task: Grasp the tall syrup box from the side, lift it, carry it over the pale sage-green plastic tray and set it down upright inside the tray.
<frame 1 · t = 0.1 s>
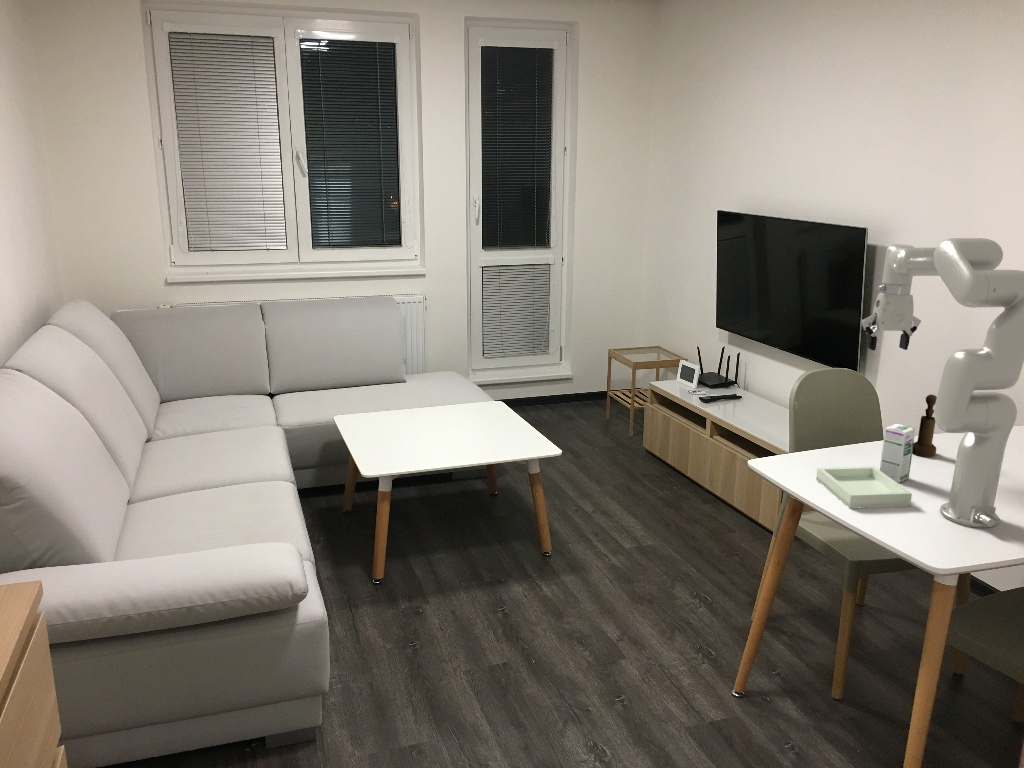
hand: (887, 349, 234), 31 cm above the table, tool pointing down, fingers open, 9 cm apart
tray: (861, 492, 214), on the table
syrup box: (893, 478, 224), on the table
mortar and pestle: (922, 454, 242), on the table
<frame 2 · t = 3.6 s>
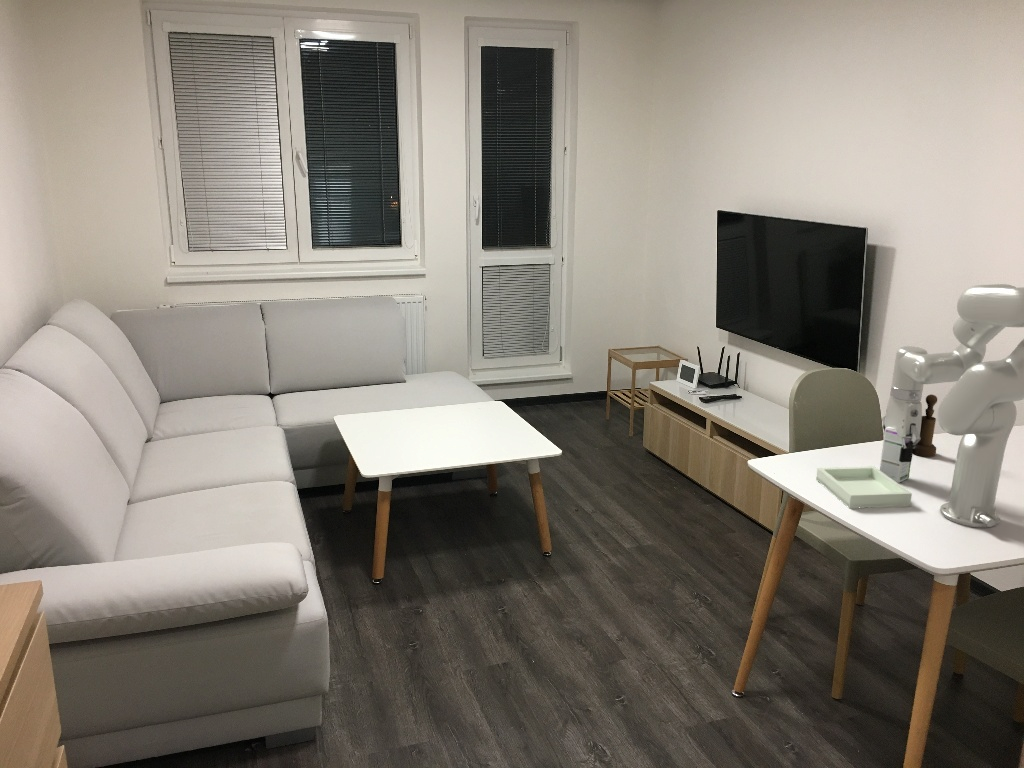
hand: (896, 455, 222), 6 cm above the table, tool pointing down, fingers closed on syrup box, 7 cm apart
syrup box: (893, 478, 224), on the table, touching gripper
everything else where it was.
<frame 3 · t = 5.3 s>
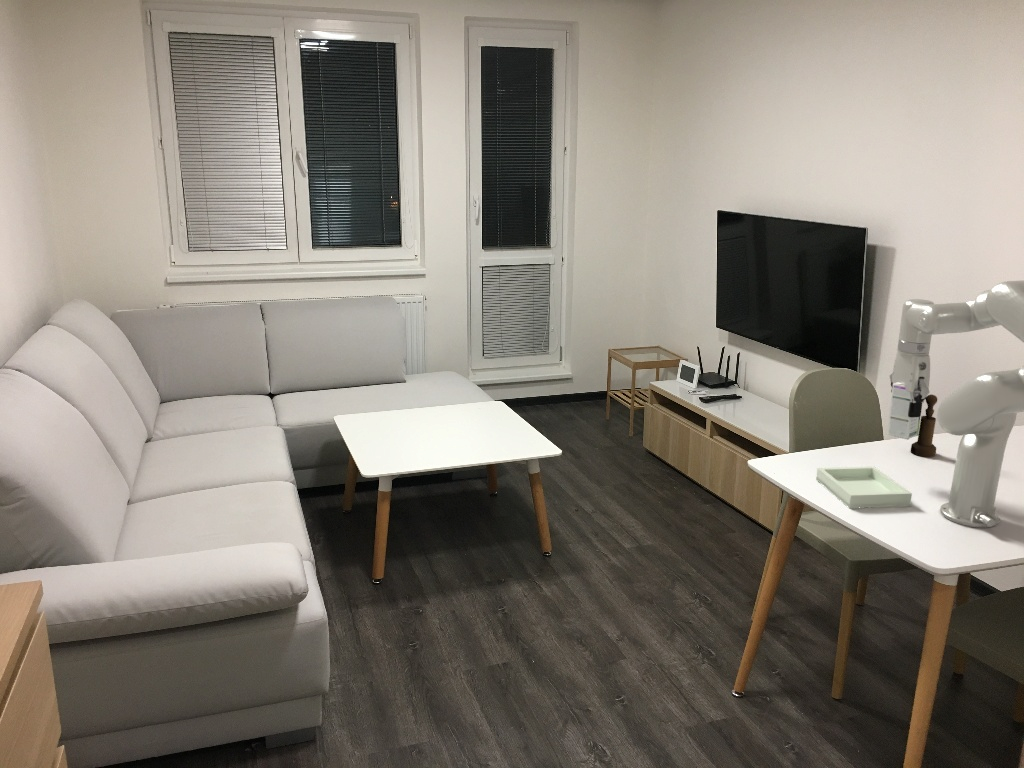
hand: (905, 411, 218), 19 cm above the table, tool pointing down, fingers closed on syrup box, 7 cm apart
syrup box: (902, 436, 219), point 12 cm above the table, touching gripper
everything else where it was.
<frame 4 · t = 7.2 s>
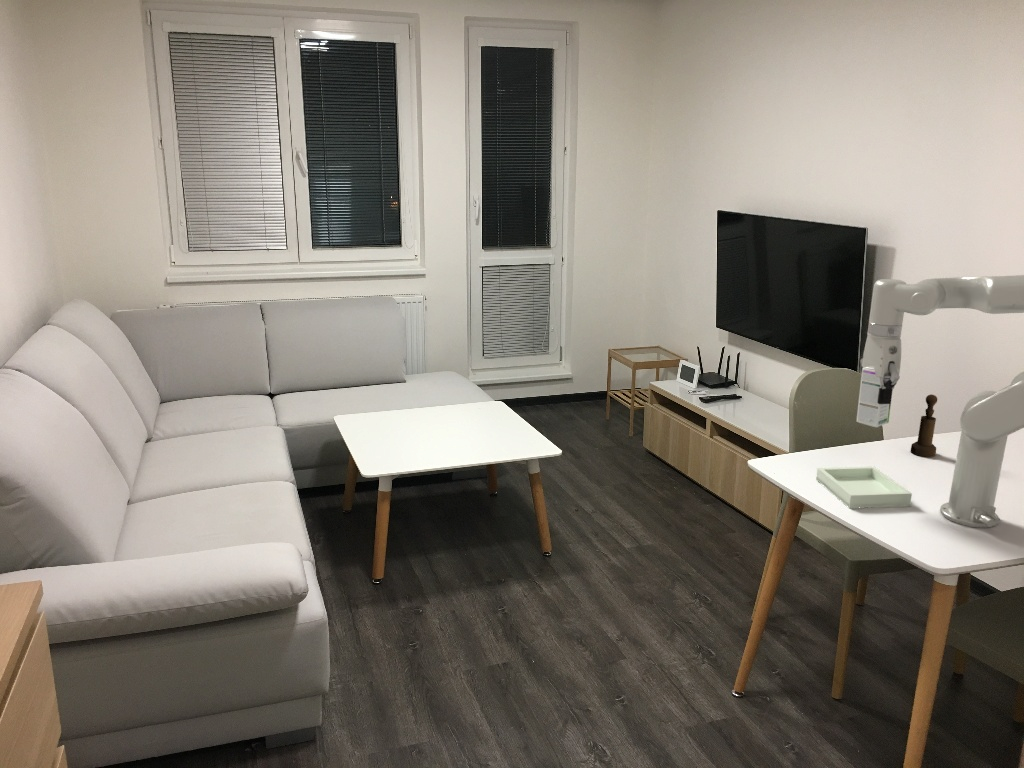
hand: (875, 398, 206), 26 cm above the table, tool pointing down, fingers closed on syrup box, 7 cm apart
syrup box: (871, 423, 208), point 19 cm above the table, touching gripper
everything else where it was.
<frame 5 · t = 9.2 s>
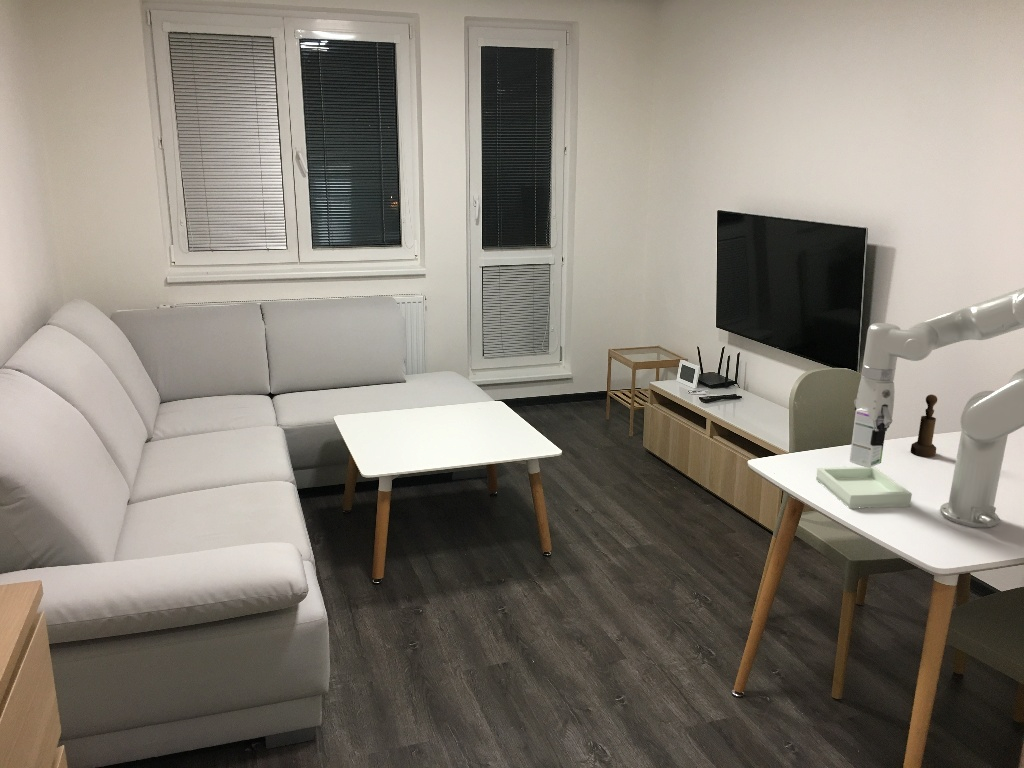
hand: (868, 439, 210), 15 cm above the table, tool pointing down, fingers closed on syrup box, 7 cm apart
syrup box: (864, 463, 211), point 8 cm above the table, touching gripper
everything else where it was.
when the fingers open (9 cm above the table, at t = 11.0 s): syrup box drops 1 cm, resting on tray.
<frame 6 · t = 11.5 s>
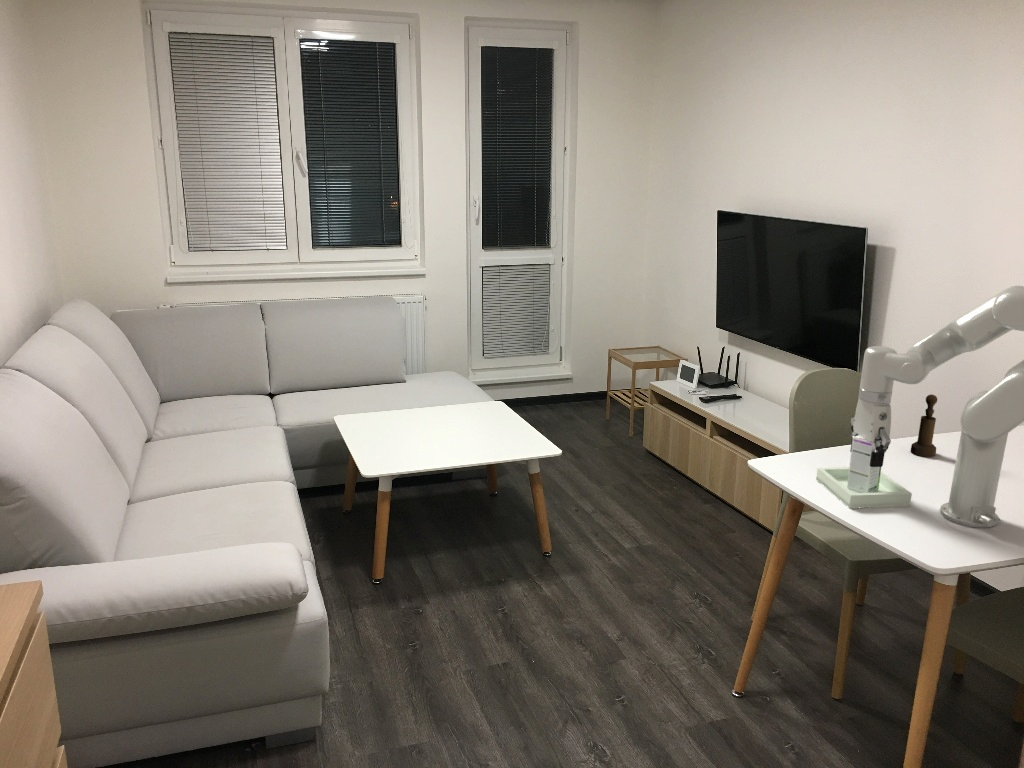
hand: (865, 459, 211), 9 cm above the table, tool pointing down, fingers open, 9 cm apart
syrup box: (862, 489, 213), point 1 cm above the table, touching tray
everything else where it was.
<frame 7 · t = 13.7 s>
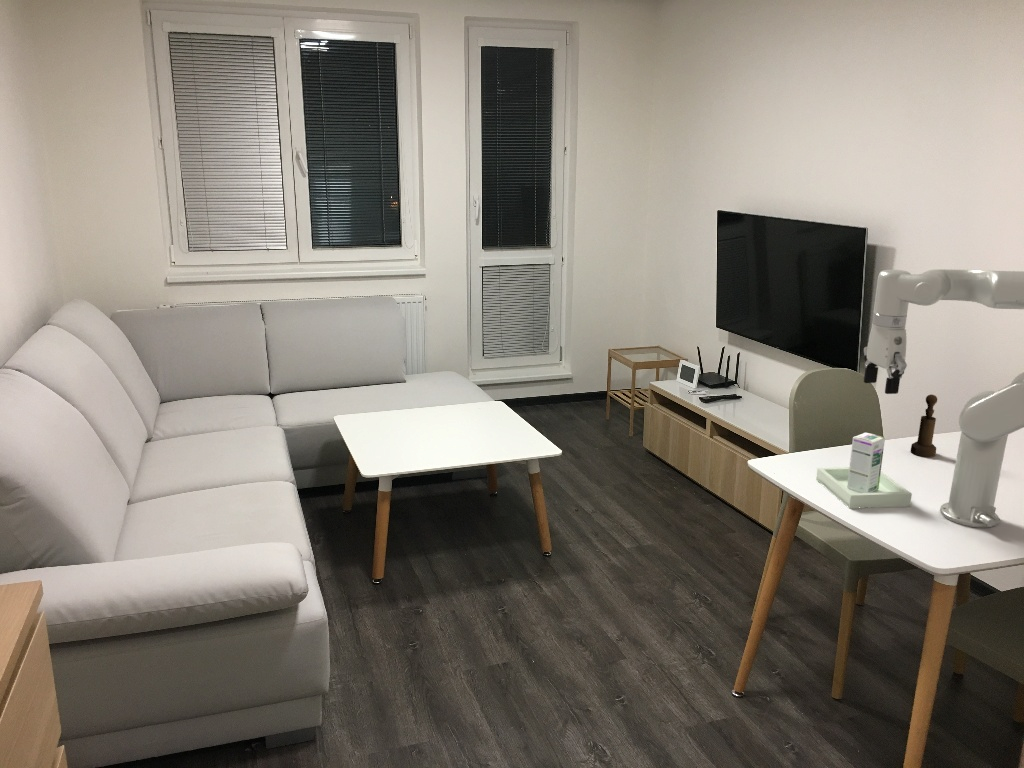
hand: (880, 387, 206), 28 cm above the table, tool pointing down, fingers open, 9 cm apart
nothing on the table moved.
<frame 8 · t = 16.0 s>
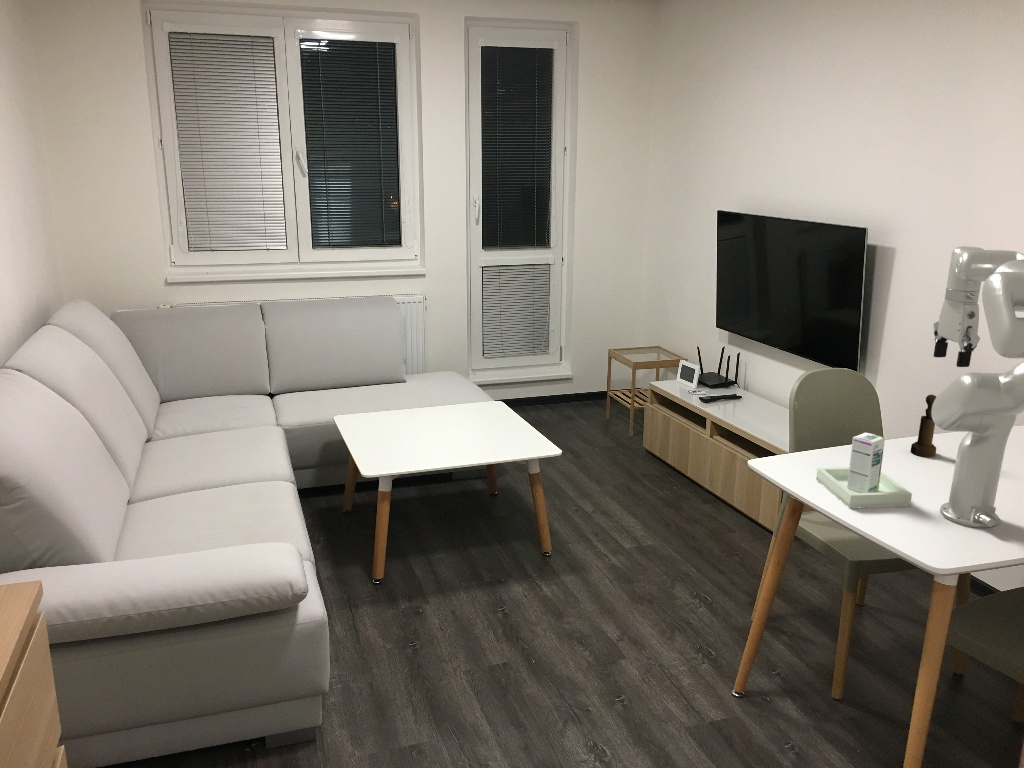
hand: (950, 361, 212), 33 cm above the table, tool pointing down, fingers open, 9 cm apart
nothing on the table moved.
at the end: syrup box inside the target area on the tray (0.1 cm from its centre), point 0.8 cm above the tray's base; syrup box tilted 0°; the gripper is holding nothing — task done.
